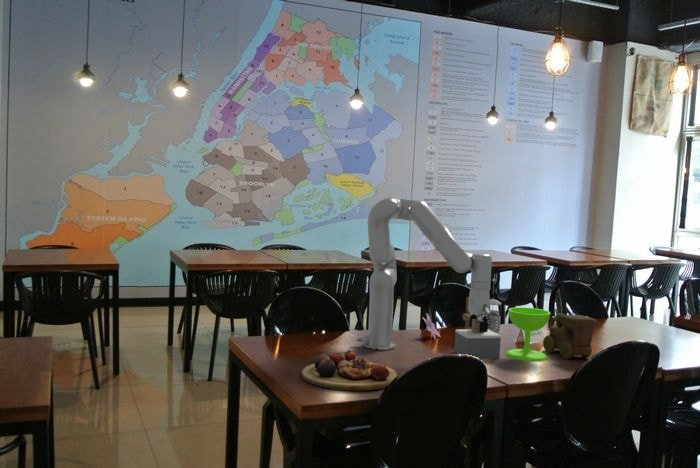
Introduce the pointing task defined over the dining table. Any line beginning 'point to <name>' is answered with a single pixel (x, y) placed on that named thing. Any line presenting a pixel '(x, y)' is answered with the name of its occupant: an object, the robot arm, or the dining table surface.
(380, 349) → the robot arm
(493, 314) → the french press
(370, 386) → the wooden plate with food
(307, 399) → the dining table surface
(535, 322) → the wineglass
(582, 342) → the wooden toy train
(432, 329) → the lily
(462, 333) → the lid
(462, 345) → the toolbox
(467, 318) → the tan bar
